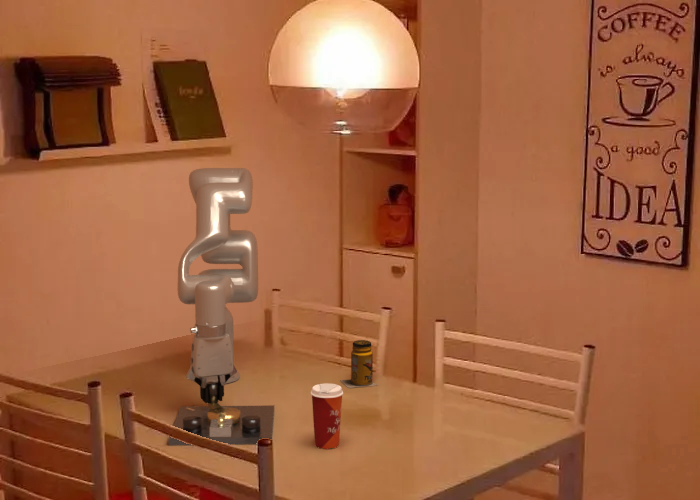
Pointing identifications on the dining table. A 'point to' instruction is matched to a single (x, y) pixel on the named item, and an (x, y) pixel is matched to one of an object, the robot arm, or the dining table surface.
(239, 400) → the dining table surface
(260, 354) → the dining table surface
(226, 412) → the crank dial
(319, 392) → the paper cup
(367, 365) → the condiment
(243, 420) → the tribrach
